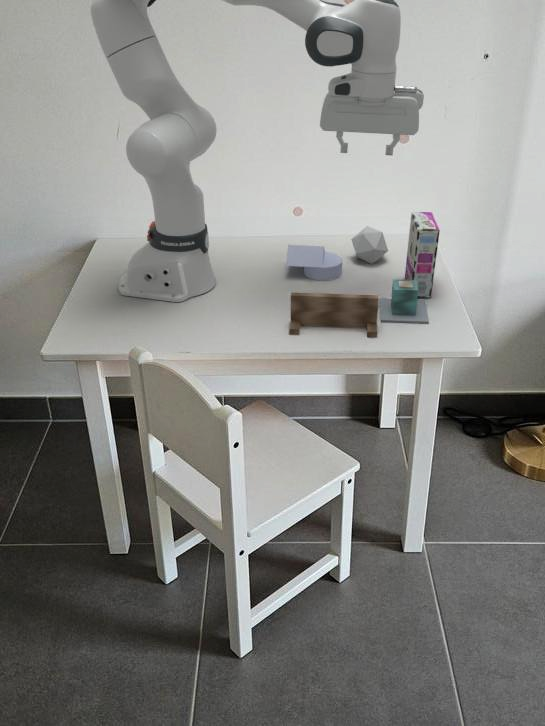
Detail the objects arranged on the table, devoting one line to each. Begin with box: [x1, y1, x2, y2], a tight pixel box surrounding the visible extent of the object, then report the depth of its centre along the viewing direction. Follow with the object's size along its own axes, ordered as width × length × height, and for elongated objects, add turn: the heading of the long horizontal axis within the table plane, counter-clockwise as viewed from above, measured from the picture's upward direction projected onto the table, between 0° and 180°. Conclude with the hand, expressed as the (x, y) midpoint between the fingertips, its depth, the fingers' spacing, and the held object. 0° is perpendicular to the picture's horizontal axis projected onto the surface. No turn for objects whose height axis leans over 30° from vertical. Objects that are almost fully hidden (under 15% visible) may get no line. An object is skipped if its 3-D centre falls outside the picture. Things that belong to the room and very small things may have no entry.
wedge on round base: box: [285, 244, 343, 281], centre depth 175 cm, size 9×7×13 cm
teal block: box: [390, 278, 419, 316], centre depth 157 cm, size 5×5×6 cm
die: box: [350, 226, 389, 265], centre depth 180 cm, size 8×9×10 cm
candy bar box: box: [404, 211, 441, 299], centre depth 164 cm, size 11×5×16 cm, turn 178°
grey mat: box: [379, 297, 430, 325], centre depth 159 cm, size 10×10×1 cm
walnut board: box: [288, 291, 380, 338], centre depth 151 cm, size 18×5×7 cm, turn 85°
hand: (366, 153), depth 154 cm, fingers open, 8 cm apart
